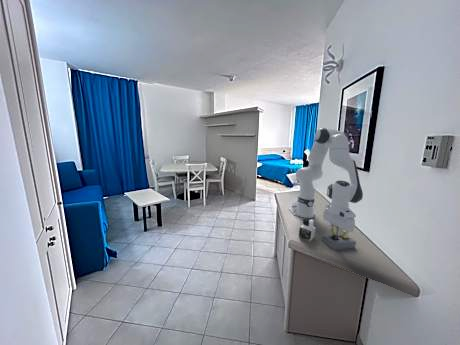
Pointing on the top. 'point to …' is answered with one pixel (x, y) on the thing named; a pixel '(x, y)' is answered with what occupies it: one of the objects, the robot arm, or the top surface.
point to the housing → (338, 242)
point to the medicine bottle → (307, 229)
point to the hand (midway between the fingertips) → (335, 232)
